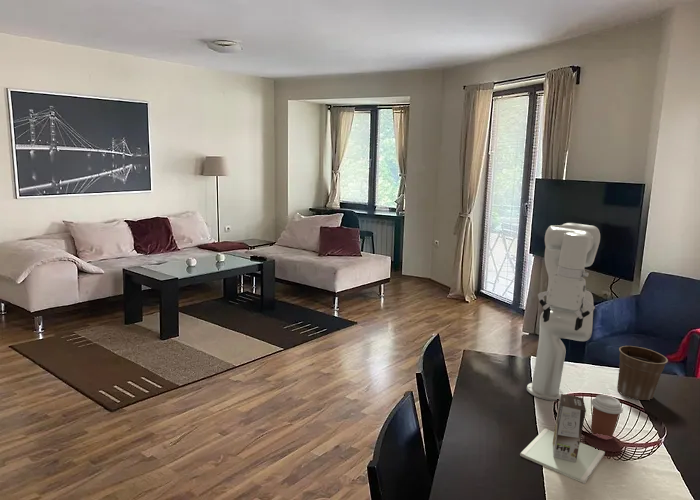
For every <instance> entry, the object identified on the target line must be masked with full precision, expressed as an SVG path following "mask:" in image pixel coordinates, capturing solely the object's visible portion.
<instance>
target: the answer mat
mask: <svg viewBox="0 0 700 500" xmlns="http://www.w3.org/2000/svg"><path fill="white" fill-rule="evenodd" d="M553 437H554V431H552V430H550V429H547V428H546V427H545V428H544V429H543V430H542V431H541V432H540V433H538V434H537V436H536V437H535V438H534V439H533V440H532V441H531V442H530V443H529V444H528V445H527V446H526V447H525V448H524V449H523V450H522V451H521V452H520V453H519V455H520V457H522V458H523V459H526V460H529V461H532V462H533V463H536V464H538V465H541V466H543V467H545V468H547V469H550V470H552V471H555V472H556V473H560V474H561V475H564V476H566V477H568V478H570V479H573V480H576V481H578V482H579V483H582V484H586V482H587V481H588V480H589V478H590V477H591V476H592V474H593V473H594V471H595V469H596V468H597V467H598V465H599V464H600V462H601V460H603V457H604V456H605V454H606V451H604V450H602V449H599V450H598V448H596V447H593V446H592V445H591V446H590V445H588V444H585V443H582V442H581V441H580V444H579V449H578V454H577V459H576V462H571V461H567V460H563V459H560V458H555V457H554V456H553ZM595 448H596V449H595Z"/></svg>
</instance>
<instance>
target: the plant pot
mask: <svg viewBox="0 0 700 500" xmlns="http://www.w3.org/2000/svg"><path fill="white" fill-rule="evenodd" d="M618 351H619V358H618V359H619V368H618V377H617V384H616V385H617V386H616V388H617V391H618V392H619V393H620V394H621V395H623V396H624V395H625V397H626V396H627V398H629V397H630V398H629V399H632V398H634V399H633V400H635V399H636V400H638V401H640V400H649V401H651V400H650V399H652V400H653V398H654V396H655V392H656V389H657V386H658V384H659V382H660V379H661V374H662V372H663V371H664V369H665V366H666V364H667V363H669V359H668V358H667V357H666V356H665V355H663V354H661V353H659V352H657V351H654V350H652V349H648V348H646V347H639V346H633V345H623V346H620V347H619V348H618Z"/></svg>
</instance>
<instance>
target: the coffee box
mask: <svg viewBox="0 0 700 500" xmlns="http://www.w3.org/2000/svg"><path fill="white" fill-rule="evenodd" d="M558 401H559V402H558V407H557V408H558V409H557V414H556V420H555V425H554V426H555V427H554V431H553V432H554V437H553V456H554V457H555V458H560V459H563V460H567V461H571V462H576V459H577V454H578V449H579V444H580V442H581V438H582V432H583V427H584V423H585V422H584V421H585V416H586V414H587V413H586V411H587V408H586V406H585V401H584V398H583V397H580V396H576V395H568V394H564V393H563V394H561V396H560V399H559V400H558Z"/></svg>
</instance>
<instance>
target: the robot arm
mask: <svg viewBox="0 0 700 500" xmlns="http://www.w3.org/2000/svg"><path fill="white" fill-rule="evenodd" d="M544 234H545V235H544V246H545V249H544V264H545V270H546V272H547V277H548V281H547V288H546V289H547V290H546V291H542V292H539V293H537V298H538V300H539V303H540V305H541V306H542V309H543V311H541V314H540V316H539V334H538V344H537V351H536V357H535V364H534V370H533V374H532V381H531V382H530V383H528V384H527V386H526V391H527V392H528V393H529V394H531V395H532V396H534V397H535V398H536V397H537V398H539V399H542V400H547V401H558V400H557V399H559V398H560V396H561V394H564V393H563V390H561V389H560V387H561V381H562V376H563V370H564V365H565V358H566V354H567V353H566V351H567V350H566V345H565V344H564V342H563V341H562V340H561V339H567V340H571V341H572V340H573V341H577V342H586V341H589V340H590V339H591V337H592V333H593V322H594V321H593V320H594V319H593V318H594V310H595V308H596V307H595V305H594V297H593V294H592V292H591V291H589V290H587V288H586V287H587V286H586V285H587V284H586V283H587V282H586V278H588V277H589V272H588V271H586V269H585V268H588V267H591V266H592V265H593V263H594V262H595V258H596V256H597V253H598V249H599V245H600V243H601V233H600V229H599V228H598V227H597V226H595V225H589V224H582V223H576V222H566V223H563V224H560V225H558V224H557V225H556V224H555V225H554V224H553V225H549V226H548V227H547V229H546V230H545V233H544ZM545 297H546V300H545ZM559 400H560V399H559Z"/></svg>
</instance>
